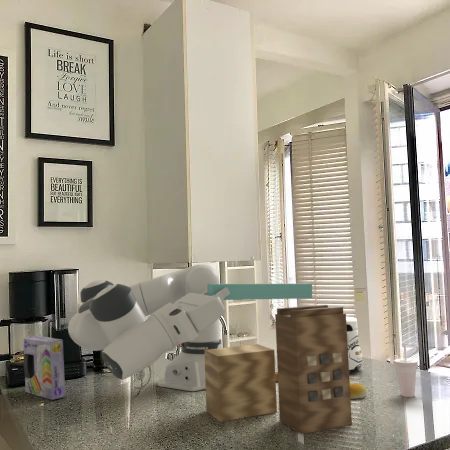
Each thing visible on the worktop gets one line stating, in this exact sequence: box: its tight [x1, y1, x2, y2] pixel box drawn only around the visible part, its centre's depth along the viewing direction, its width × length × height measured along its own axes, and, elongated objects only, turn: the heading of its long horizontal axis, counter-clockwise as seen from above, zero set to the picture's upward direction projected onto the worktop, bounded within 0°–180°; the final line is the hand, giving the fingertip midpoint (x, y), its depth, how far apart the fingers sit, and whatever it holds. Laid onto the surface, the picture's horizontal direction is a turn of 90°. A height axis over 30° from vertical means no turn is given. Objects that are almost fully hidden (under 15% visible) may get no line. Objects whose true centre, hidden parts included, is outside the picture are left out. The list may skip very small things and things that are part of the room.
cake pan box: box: [23, 335, 66, 401], centre depth 149 cm, size 19×5×18 cm, turn 47°
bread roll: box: [350, 381, 367, 400], centre depth 137 cm, size 8×9×4 cm
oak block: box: [204, 343, 278, 423], centre depth 126 cm, size 16×10×16 cm, turn 112°
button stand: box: [274, 304, 353, 435], centre depth 115 cm, size 14×11×28 cm
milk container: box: [346, 316, 363, 373], centre depth 168 cm, size 17×17×18 cm
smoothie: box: [393, 344, 418, 398], centre depth 135 cm, size 6×6×14 cm
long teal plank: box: [207, 282, 313, 301], centre depth 112 cm, size 26×4×4 cm, turn 112°
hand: (223, 289), depth 109 cm, fingers closed on long teal plank, 3 cm apart
